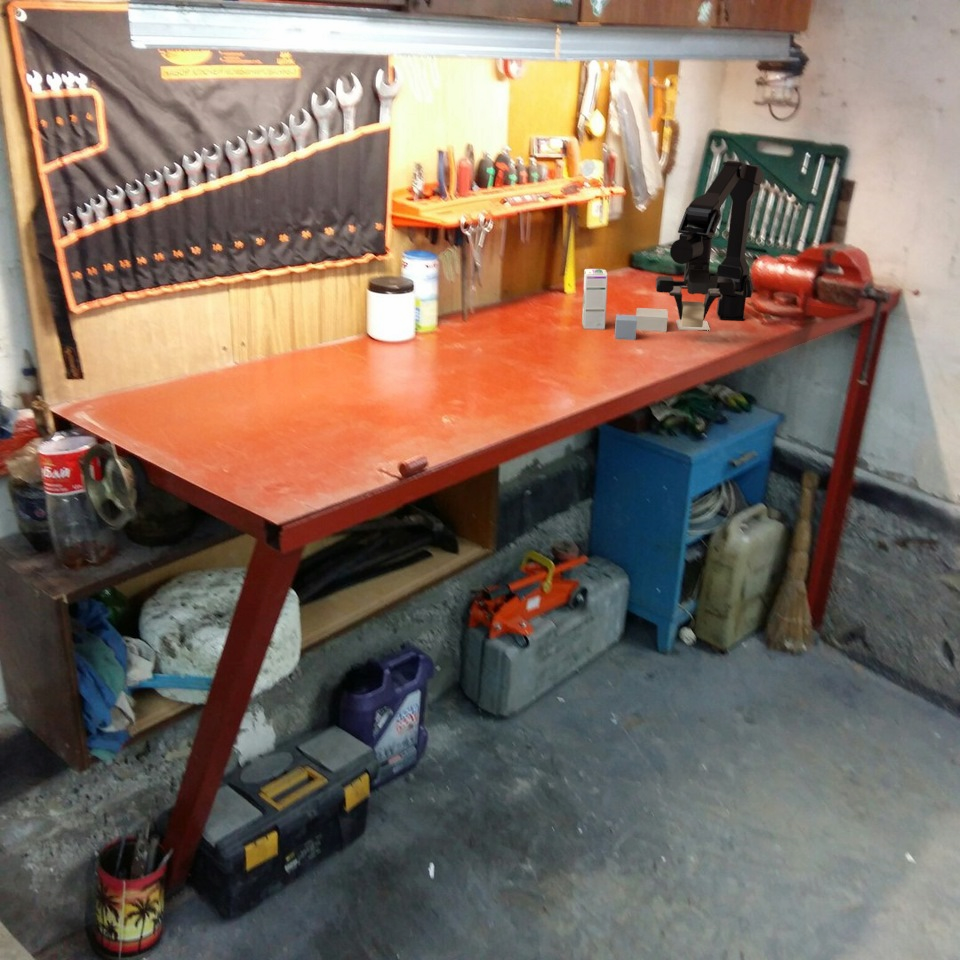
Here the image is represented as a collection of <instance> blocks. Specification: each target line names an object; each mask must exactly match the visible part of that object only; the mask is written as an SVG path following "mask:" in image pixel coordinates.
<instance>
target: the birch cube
mask: <svg viewBox="0 0 960 960" xmlns="http://www.w3.org/2000/svg"><path fill="white" fill-rule="evenodd" d="M704 308H705V307H704V301H687V300H684V301H683V300H682V320H680V319H679V320H680V322H681V326H683V327H702V326H703V321H704V320H703V317H704Z"/></svg>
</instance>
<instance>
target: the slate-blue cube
mask: <svg viewBox="0 0 960 960" xmlns="http://www.w3.org/2000/svg"><path fill="white" fill-rule="evenodd" d="M614 325H615V327H614V340H621V339H623V340H626V341H629V340H630V341H636V337H637V336H636V335H637V330H636V325H637V318H636V314H635V315H633V314H615V324H614ZM623 340H622V341H623Z"/></svg>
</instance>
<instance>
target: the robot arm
mask: <svg viewBox="0 0 960 960" xmlns="http://www.w3.org/2000/svg"><path fill="white" fill-rule="evenodd" d="M763 180H764V171H763V170H762V169H761V167H760V165H757V164H756V165H755V164H747V163H745V162H743V161H737V160H736V161H735V160H727V161H723V163H722V166H721V169H720V171H719V172H718V173H717V175H716V177H715V178H714V180H713V181H712V182H711V184H710V186H709V187H708V188H707V190H706V191H705V193H704V194H702V195H699V196H698V197H695V198H694V199H693V200H692V201H691V202H690V203H689V205H688V206H687V207H686V208H685V211H684V213H683V217H682V220H681V222H680V224H679V226H678V230H677V233H678V234H679V237H678V239H677V240H675V241H673V243H672V244H671V246H670V249H669V253H670V258H671V259H672V260H673V261H674V262H675V263H677V264H678V265H684V272H683V273H684V274H683V275H684V276H683V280H674V277H673V276H671V275H670V276H669V275H666V276H665V275H658V276H657V277H656V278H655V290H656V292H657V293H668V294H669V296H670V297H674V300H675V303H676V306H677V307H676V308H677V312H678V317H679V320H682V301H683V294H682V289H683V290H686V289H687V294H689V295H698V294H699V295H703V296H704V301H703V305H704V307H705V308H704V317H703V321H705V318H706V315H708V312H709V309H710V308H711V306H712V304H713V303H714V301H715V300H716V299H717V303H716V305H717V306H716V315H717V317H718V318H719V320H728V321H730V320H731V321H735V320H736V321H745V307H746V300H747V299H750V298H752V294H753V293H754V292H753V291H754V286H753V283H752V278H751V276H750V269H751V268H750V266H749V264H748V262H747V260H746V247H747V240H748V233H749V225H750V224H749V223H750V215H751V207H752V201H753V200H754V198H755V197H756V195H757V194H758V192H760V188H761V185H762V183H763ZM729 196H730V198H731V200H732V202H731V208H730V209H731V211H730V218H729V219H730V220H729V227H728V237H727V244H726V252H725V253H726V254H725V258H724V259H723V260H722V262H721V263H720V264H718V265H717V269H716V270H717V271H716V273H715V272H710V261H711V253H712V243H713V236H715V234H716V233H715V232H716V230H717V227H718V225H719V223H720V221H721V218H722V213H721V208H722V206H723V205H724V203H725V201H726V200H727V198H728V197H729Z"/></svg>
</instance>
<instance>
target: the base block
mask: <svg viewBox="0 0 960 960" xmlns="http://www.w3.org/2000/svg"><path fill="white" fill-rule="evenodd" d="M668 313H669V309H665V308H664V309H662V308H661V309H660V308H648V307H646V308H645V307H637V308H636V313H635V315H636V318H637V325H636V331H642V332H643V331H647V332H659V333H661V332H662V333H667V328H668V317H669V314H668Z"/></svg>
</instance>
